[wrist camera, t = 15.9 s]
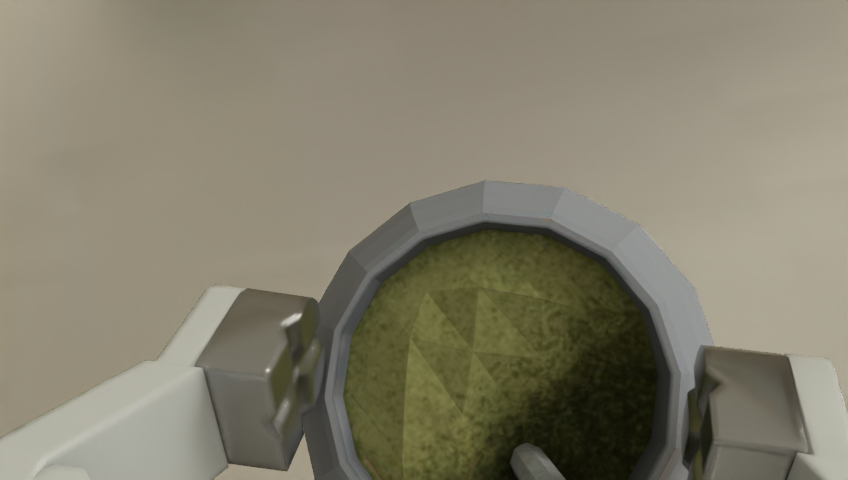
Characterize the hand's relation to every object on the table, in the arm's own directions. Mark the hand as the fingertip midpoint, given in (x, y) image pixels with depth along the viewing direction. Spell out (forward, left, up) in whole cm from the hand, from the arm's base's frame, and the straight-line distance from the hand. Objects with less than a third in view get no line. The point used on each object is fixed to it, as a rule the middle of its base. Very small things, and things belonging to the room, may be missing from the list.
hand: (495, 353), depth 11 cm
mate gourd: (-1, 0, -9) cm, 9 cm away
